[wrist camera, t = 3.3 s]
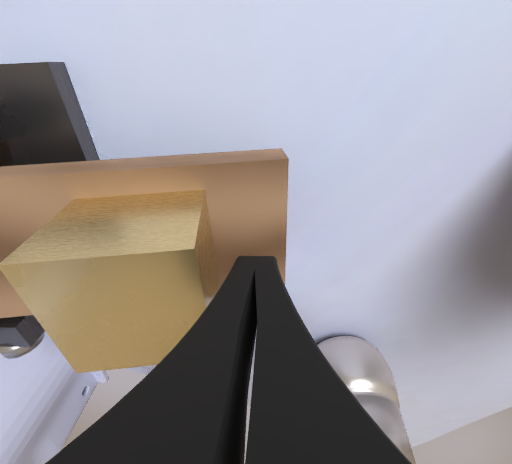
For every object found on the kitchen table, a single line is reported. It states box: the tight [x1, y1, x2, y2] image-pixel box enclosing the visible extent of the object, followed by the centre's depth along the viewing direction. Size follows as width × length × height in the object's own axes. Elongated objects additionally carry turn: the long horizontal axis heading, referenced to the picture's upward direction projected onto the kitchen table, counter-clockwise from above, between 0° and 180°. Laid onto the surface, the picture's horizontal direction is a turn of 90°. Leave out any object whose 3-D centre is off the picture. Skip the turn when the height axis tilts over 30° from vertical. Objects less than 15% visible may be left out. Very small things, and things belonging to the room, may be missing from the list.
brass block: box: [0, 189, 219, 373], centre depth 10 cm, size 5×5×4 cm
